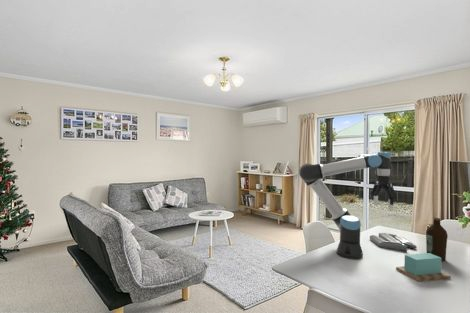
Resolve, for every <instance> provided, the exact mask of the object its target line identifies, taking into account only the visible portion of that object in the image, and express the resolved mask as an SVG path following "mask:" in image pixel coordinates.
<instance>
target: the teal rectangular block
mask: <svg viewBox="0 0 470 313" xmlns="http://www.w3.org/2000/svg"><path fill="white" fill-rule="evenodd" d="M404 270H406V271H408V272H410V273H412V274H414V275H424V274H435V273H441V271H442V261H441V257H438V256H436V255H433V254H431V253H427V252H425V253H424V252H423V253H411V254H404Z"/></svg>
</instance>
